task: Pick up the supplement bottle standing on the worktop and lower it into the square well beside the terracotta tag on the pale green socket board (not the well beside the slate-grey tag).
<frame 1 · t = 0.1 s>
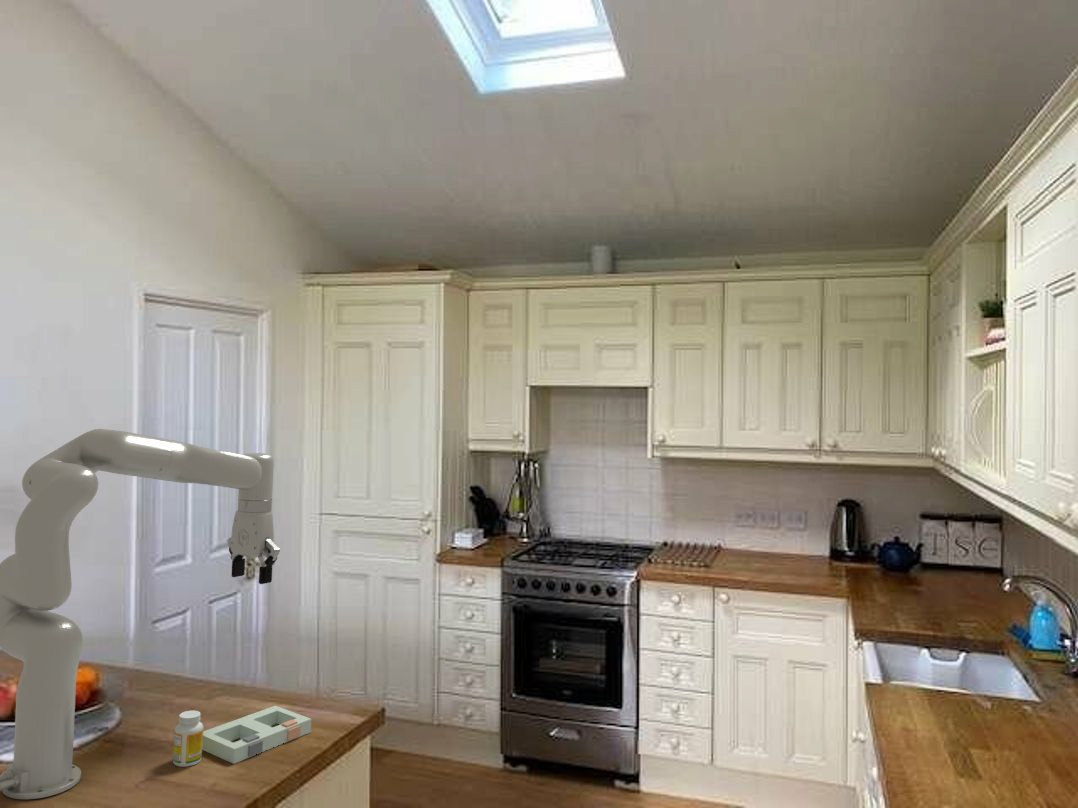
hand: (251, 579, 190), 31 cm above the worktop, fingers open, 9 cm apart
supplement bottle: (187, 762, 164), on the worktop
socket board: (255, 739, 176), on the worktop
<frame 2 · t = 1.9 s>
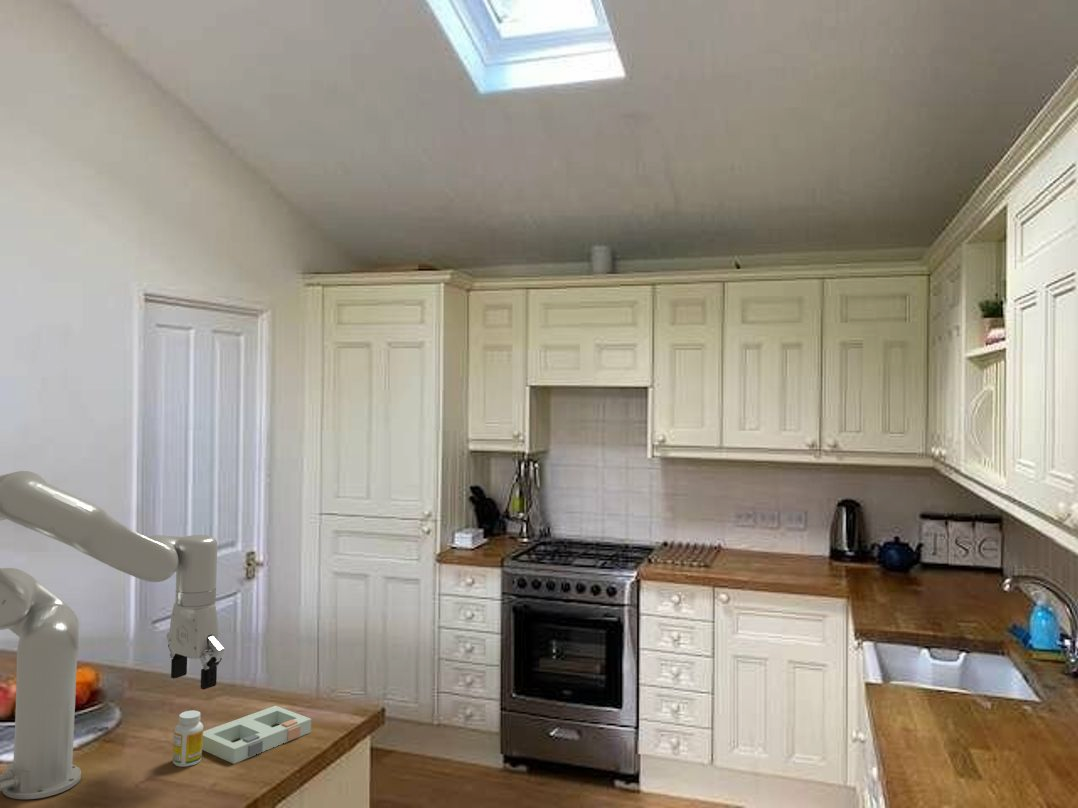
hand: (193, 681, 164), 16 cm above the worktop, fingers open, 9 cm apart
nothing on the worktop moved.
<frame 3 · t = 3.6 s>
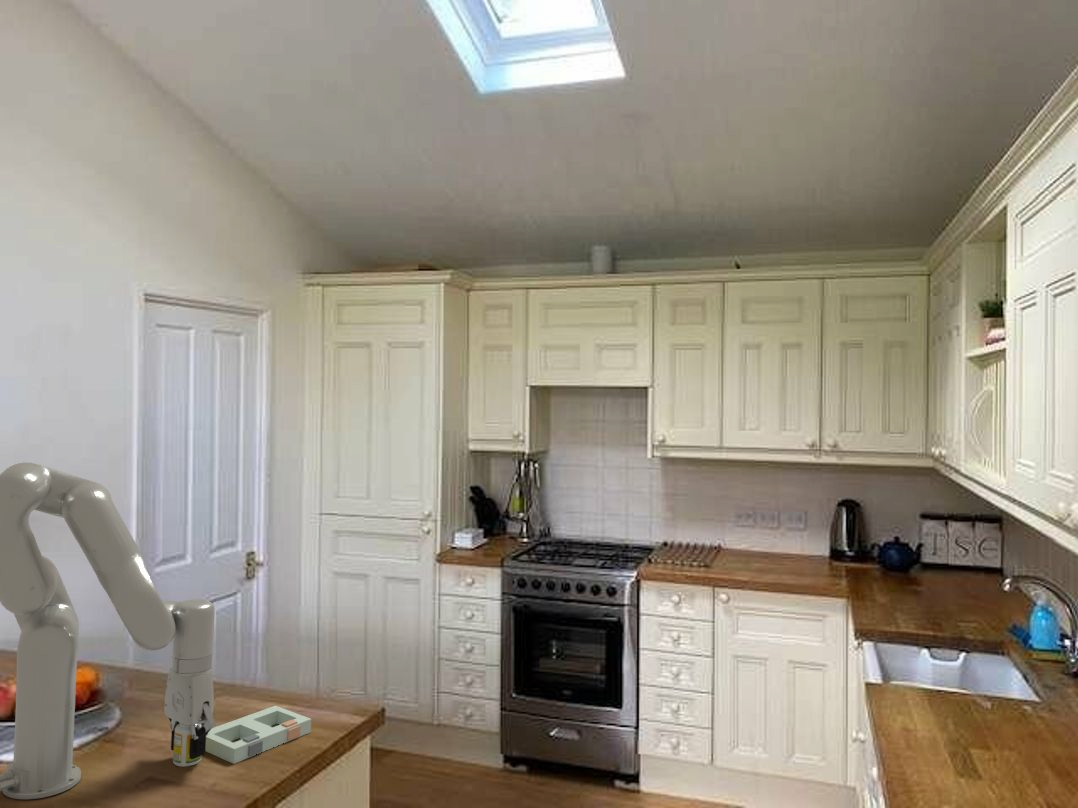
hand: (187, 751, 164), 2 cm above the worktop, fingers closed on supplement bottle, 5 cm apart
supplement bottle: (187, 762, 164), on the worktop, touching gripper
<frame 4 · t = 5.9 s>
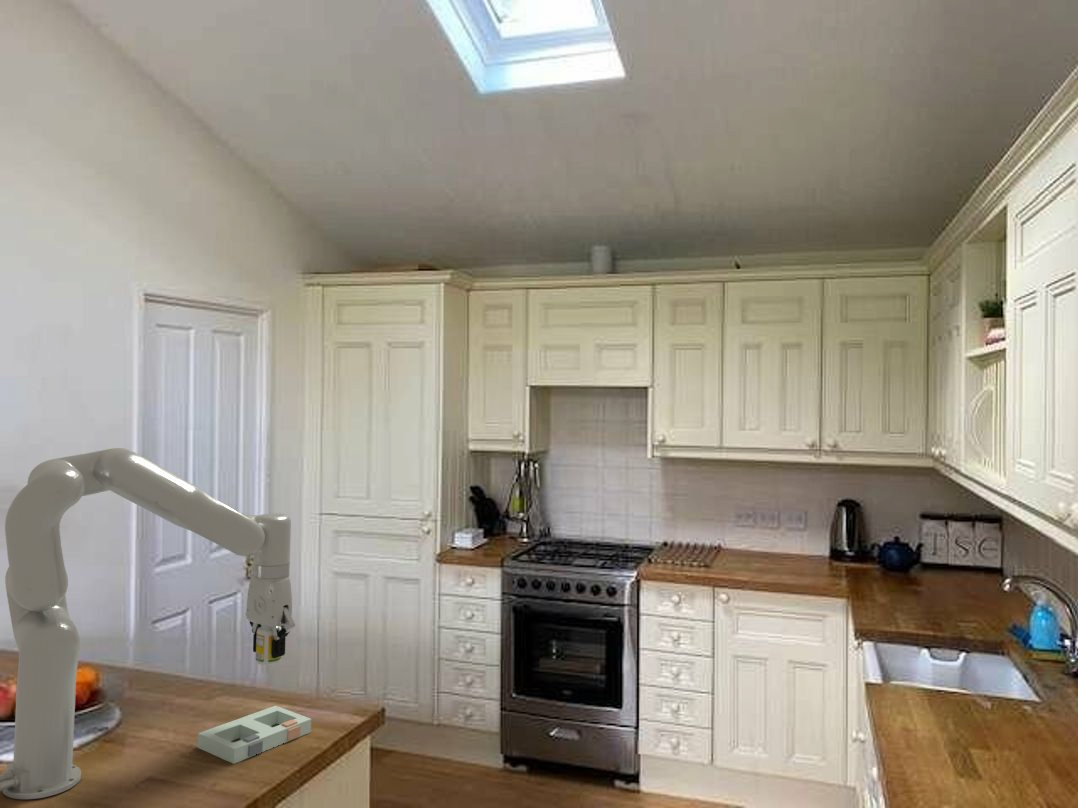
hand: (268, 652, 178), 18 cm above the worktop, fingers closed on supplement bottle, 5 cm apart
supplement bottle: (268, 662, 178), point 16 cm above the worktop, touching gripper
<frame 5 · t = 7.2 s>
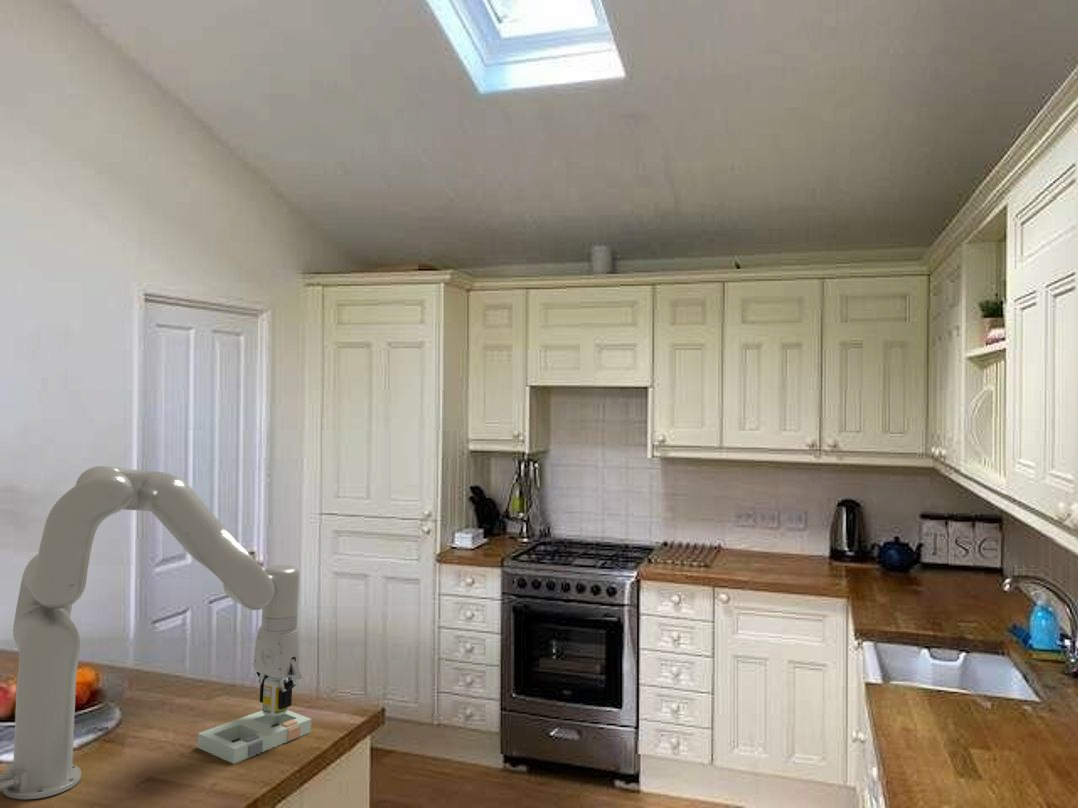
hand: (275, 703, 180), 6 cm above the worktop, fingers closed on supplement bottle, 5 cm apart
supplement bottle: (275, 712, 180), point 4 cm above the worktop, touching gripper
when the fingers open (4 cm above the worktop, at t = 8.1 s): supplement bottle drops 2 cm, resting in socket board.
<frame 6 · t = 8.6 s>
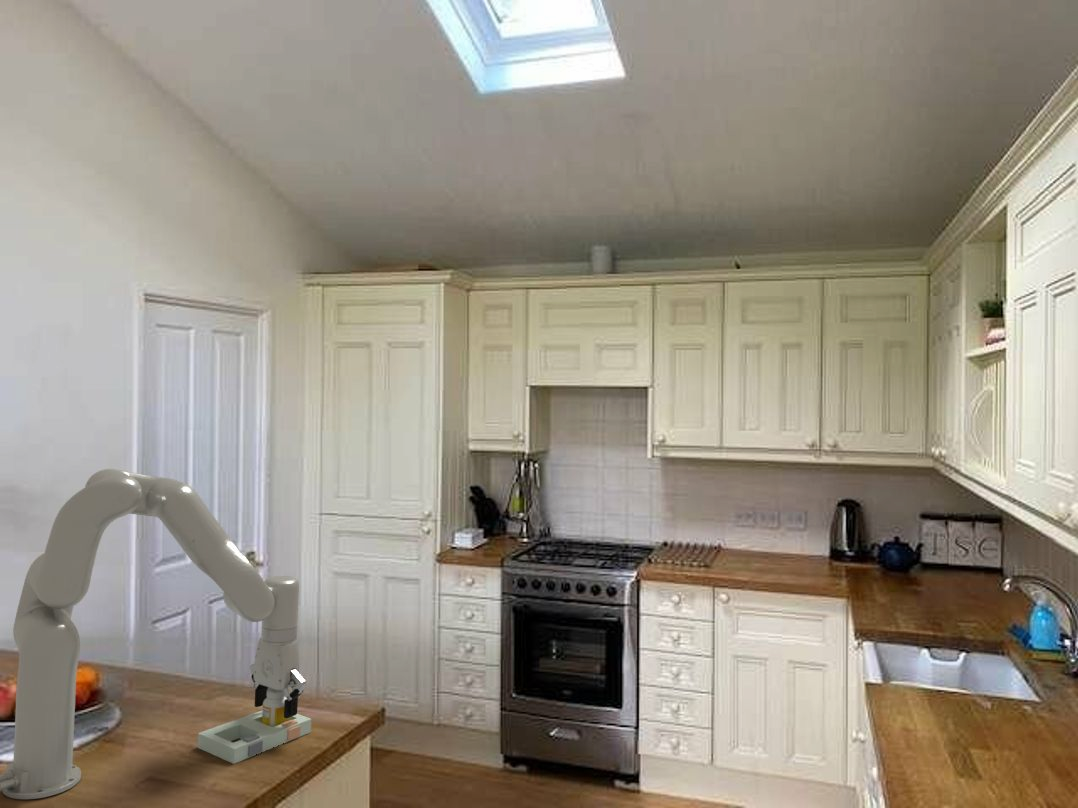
hand: (275, 710, 180), 5 cm above the worktop, fingers open, 9 cm apart
supplement bottle: (274, 733, 180), resting in socket board
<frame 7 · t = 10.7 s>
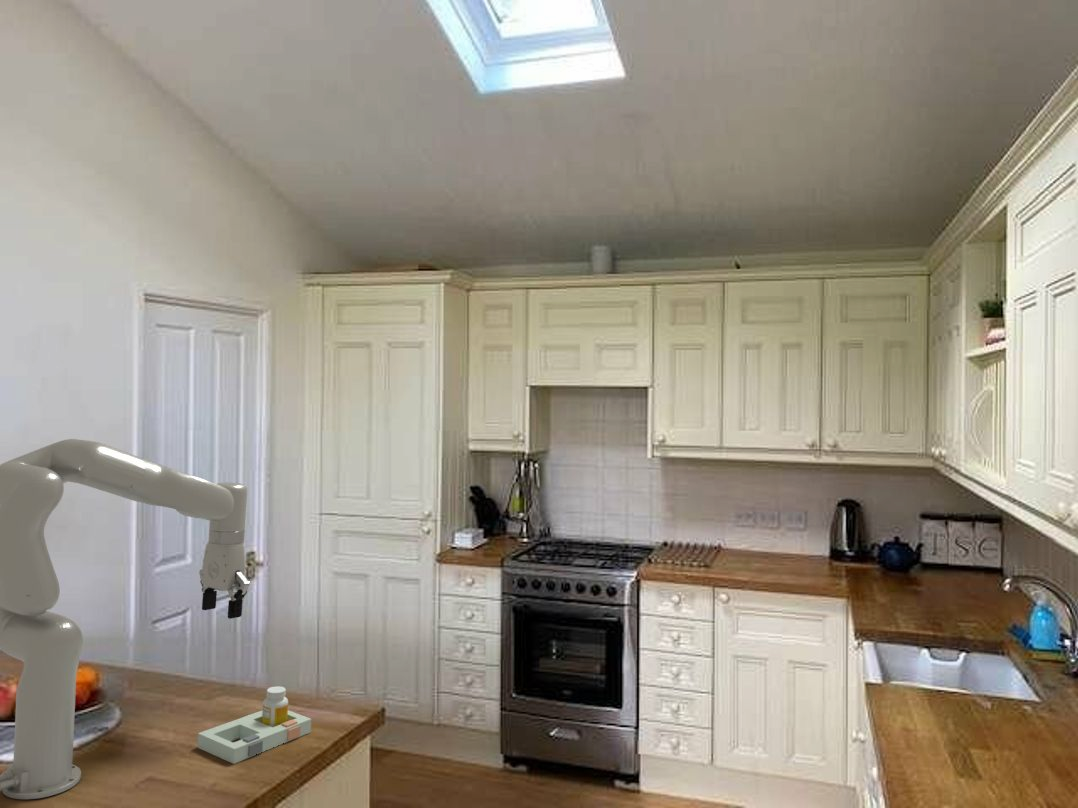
hand: (221, 613, 184), 25 cm above the worktop, fingers open, 9 cm apart
nothing on the worktop moved.
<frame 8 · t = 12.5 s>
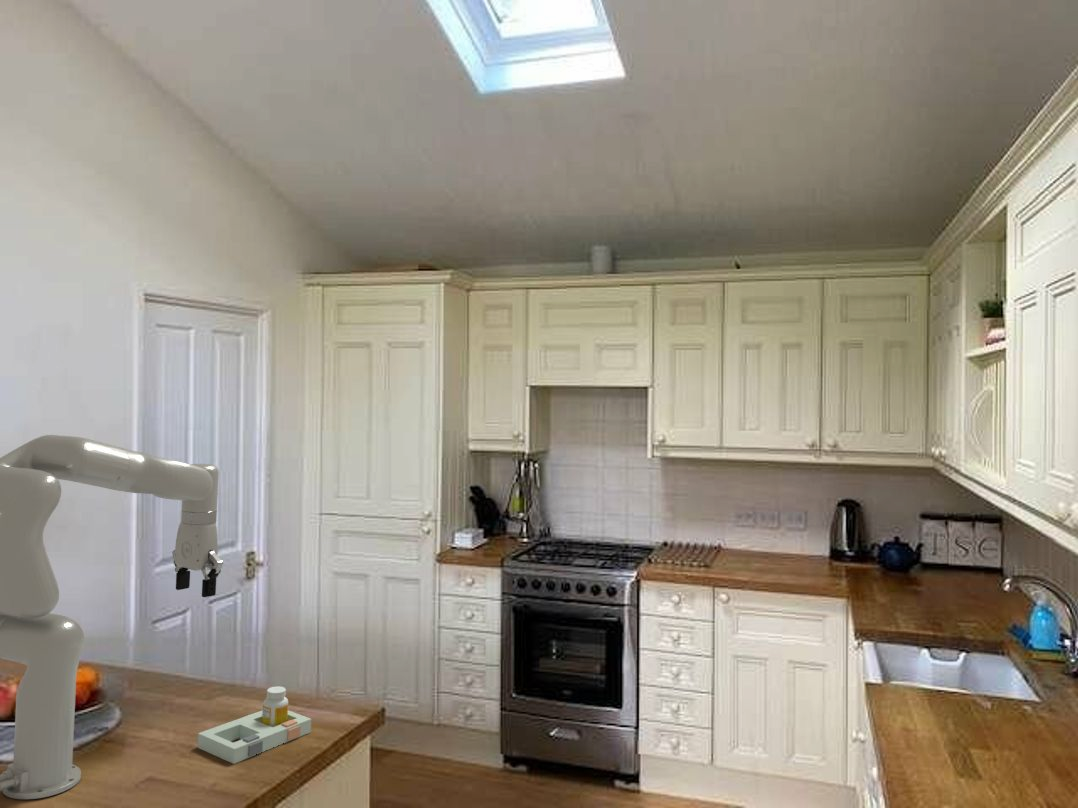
hand: (195, 592, 187), 28 cm above the worktop, fingers open, 9 cm apart
nothing on the worktop moved.
at the end: supplement bottle 0.2 cm from the target spot on the socket board, point 0.0 cm above the socket board's base; supplement bottle tilted 0°; the gripper is holding nothing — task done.
